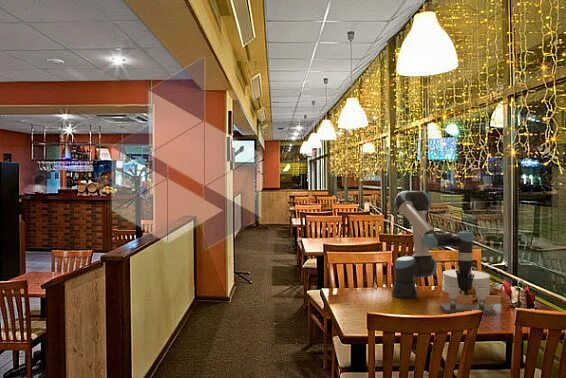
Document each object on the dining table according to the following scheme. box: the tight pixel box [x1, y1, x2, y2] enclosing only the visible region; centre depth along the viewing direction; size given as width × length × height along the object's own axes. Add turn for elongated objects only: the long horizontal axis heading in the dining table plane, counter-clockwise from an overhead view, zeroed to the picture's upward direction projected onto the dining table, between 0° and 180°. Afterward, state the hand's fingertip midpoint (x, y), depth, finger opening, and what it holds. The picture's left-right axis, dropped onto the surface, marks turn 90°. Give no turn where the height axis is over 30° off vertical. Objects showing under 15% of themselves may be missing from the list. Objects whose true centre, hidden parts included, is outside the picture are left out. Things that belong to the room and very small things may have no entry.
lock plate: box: [439, 299, 497, 316], centre depth 251 cm, size 26×12×6 cm, turn 85°
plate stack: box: [442, 269, 491, 295], centre depth 294 cm, size 28×28×12 cm
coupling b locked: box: [476, 287, 502, 305], centre depth 250 cm, size 12×4×9 cm, turn 85°
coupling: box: [447, 286, 474, 304], centre depth 251 cm, size 12×4×9 cm, turn 80°
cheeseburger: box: [458, 286, 477, 302], centre depth 274 cm, size 10×11×10 cm
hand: (464, 302), depth 254 cm, fingers closed
